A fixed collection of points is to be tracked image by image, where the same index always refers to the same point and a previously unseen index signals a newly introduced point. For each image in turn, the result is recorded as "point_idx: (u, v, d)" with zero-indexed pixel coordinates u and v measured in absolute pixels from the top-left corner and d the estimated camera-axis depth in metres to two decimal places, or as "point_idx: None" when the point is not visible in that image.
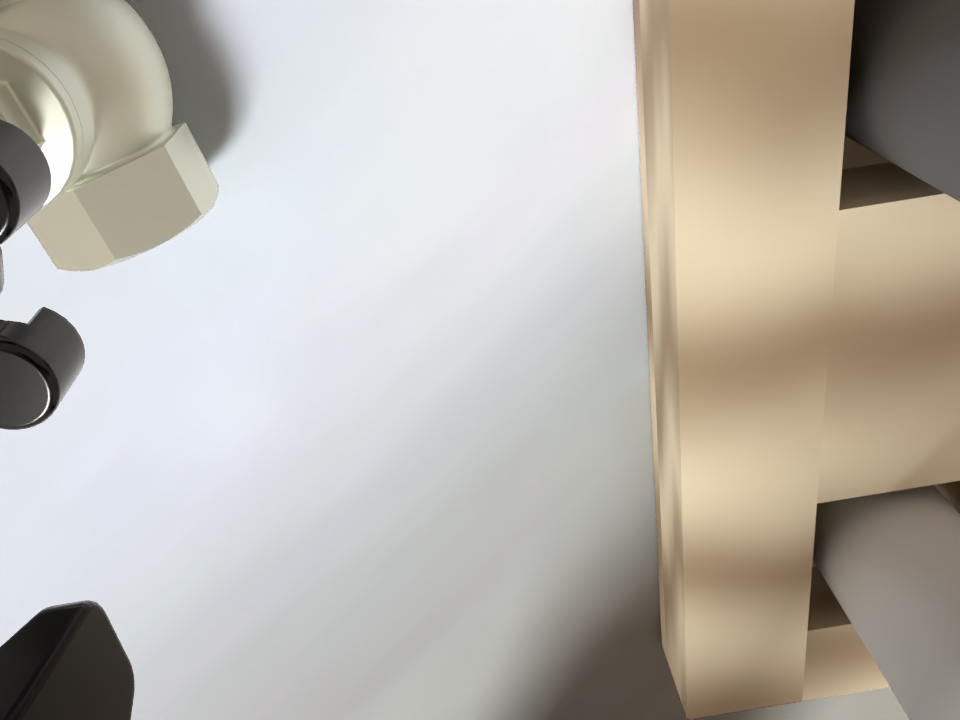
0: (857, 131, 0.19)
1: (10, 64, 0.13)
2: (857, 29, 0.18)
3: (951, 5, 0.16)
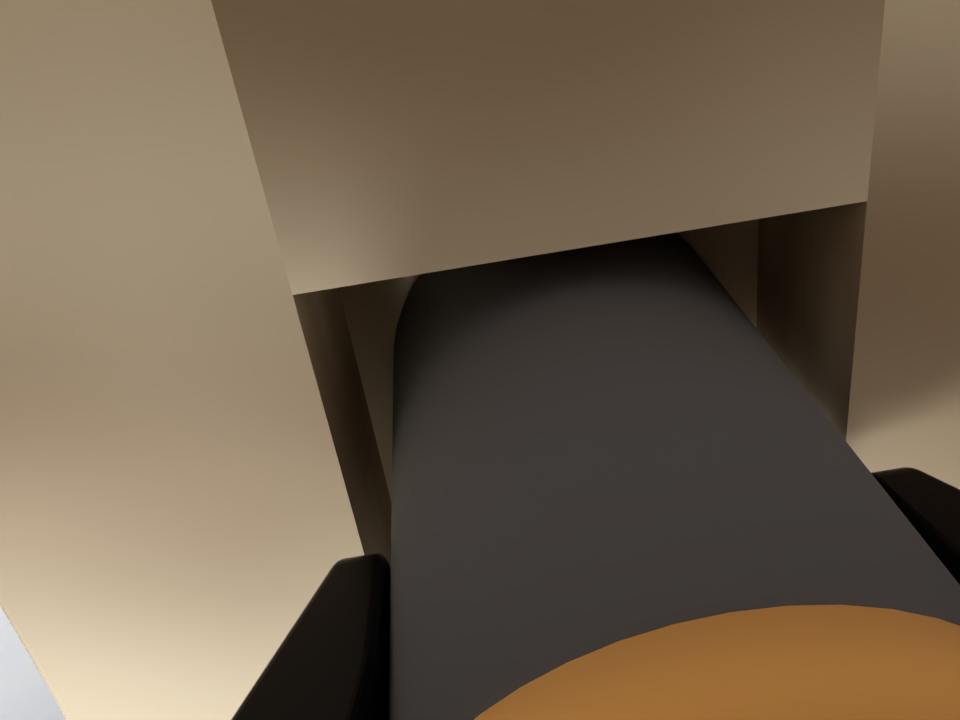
0: None
1: None
2: (405, 350, 0.09)
3: (476, 403, 0.07)
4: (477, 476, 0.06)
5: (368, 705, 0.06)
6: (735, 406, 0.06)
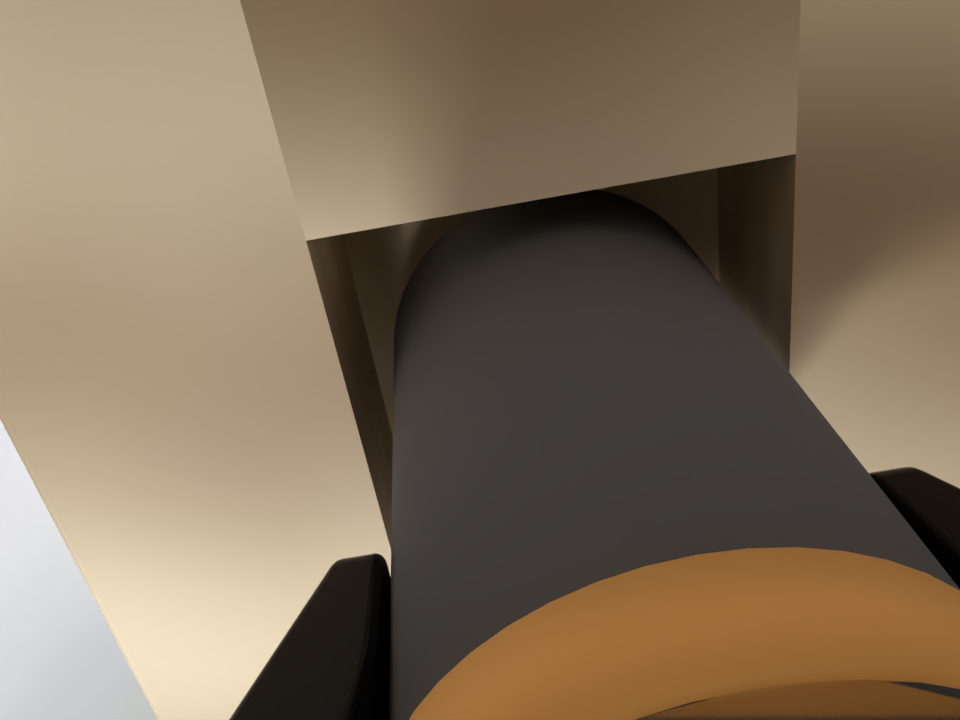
0: None
1: None
2: (404, 334, 0.09)
3: (468, 379, 0.07)
4: (470, 445, 0.06)
5: (366, 705, 0.06)
6: (711, 376, 0.06)
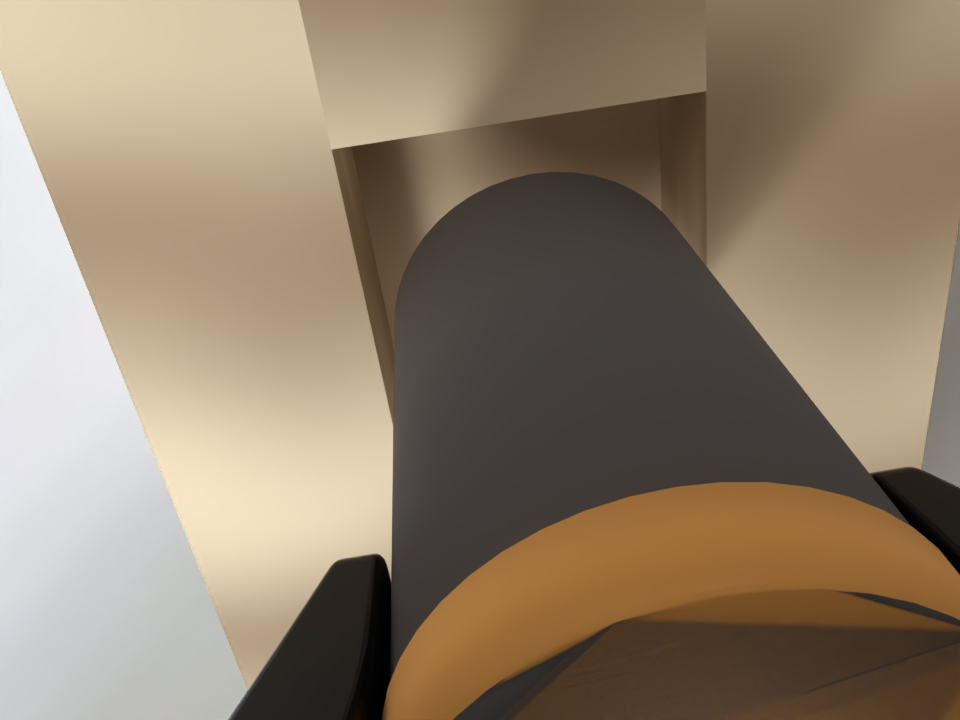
0: None
1: None
2: (406, 308, 0.10)
3: (468, 342, 0.07)
4: (469, 402, 0.07)
5: (365, 705, 0.06)
6: (693, 340, 0.07)
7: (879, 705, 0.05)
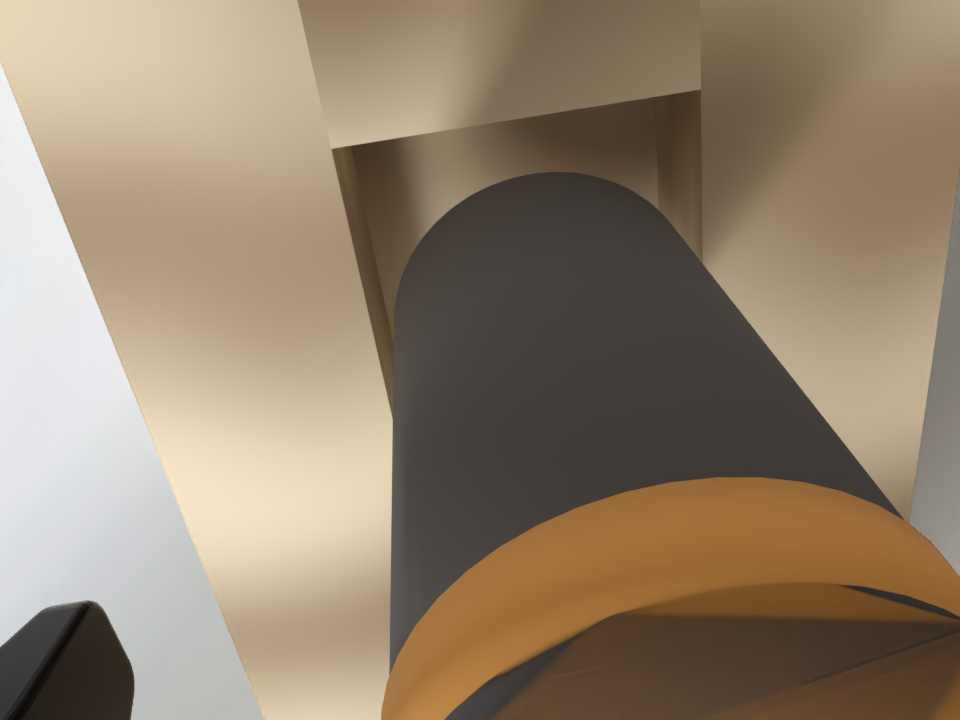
0: None
1: None
2: (405, 308, 0.10)
3: (466, 341, 0.07)
4: (467, 400, 0.07)
5: None
6: (688, 338, 0.07)
7: (874, 698, 0.05)
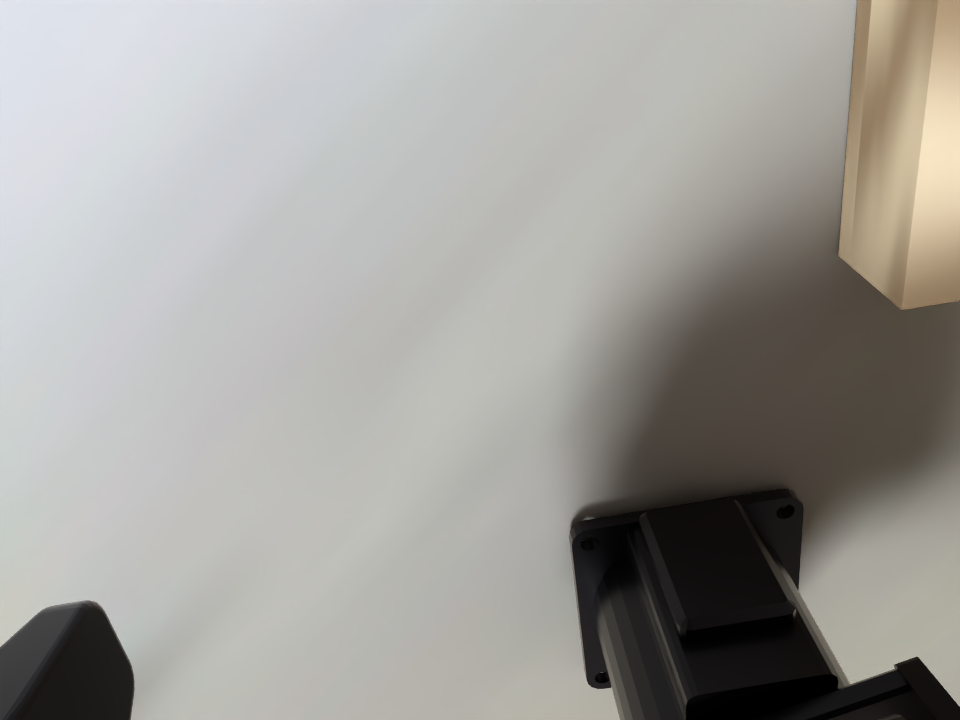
0: None
1: None
2: None
3: None
4: None
5: None
6: None
7: None
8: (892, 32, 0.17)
